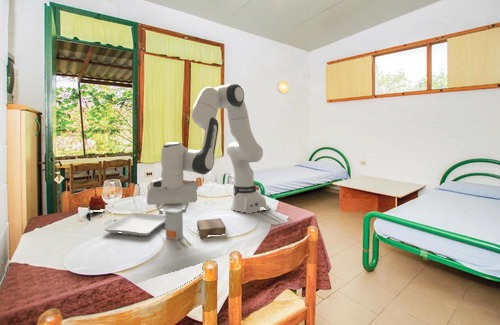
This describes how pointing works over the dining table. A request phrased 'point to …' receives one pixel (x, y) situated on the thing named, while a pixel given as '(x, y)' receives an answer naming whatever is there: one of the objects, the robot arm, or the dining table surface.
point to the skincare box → (174, 223)
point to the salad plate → (137, 224)
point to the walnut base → (210, 227)
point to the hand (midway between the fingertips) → (172, 213)
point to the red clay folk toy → (96, 202)
